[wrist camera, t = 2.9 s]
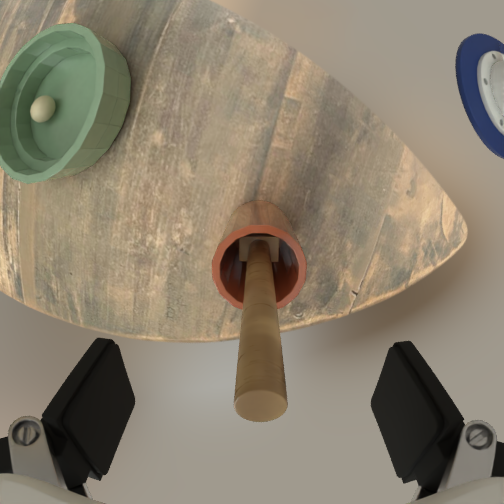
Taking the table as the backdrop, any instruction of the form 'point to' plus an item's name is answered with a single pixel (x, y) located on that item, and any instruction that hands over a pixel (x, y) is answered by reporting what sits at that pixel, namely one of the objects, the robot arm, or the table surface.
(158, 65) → the table surface
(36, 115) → the bead
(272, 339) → the wooden masher
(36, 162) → the bowl
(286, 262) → the utensil cup
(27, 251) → the table surface
